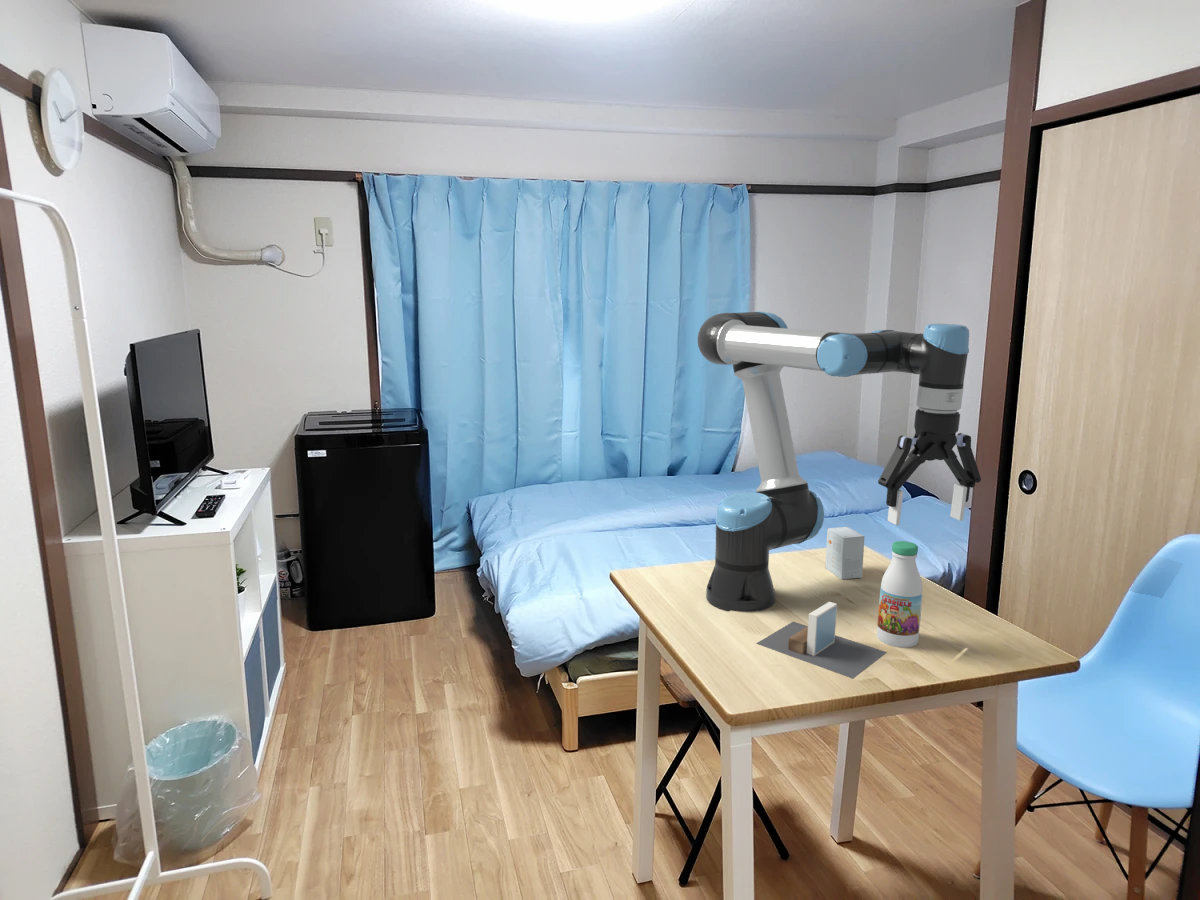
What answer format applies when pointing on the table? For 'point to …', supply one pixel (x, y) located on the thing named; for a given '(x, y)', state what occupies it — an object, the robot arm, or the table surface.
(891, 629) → the milk bottle
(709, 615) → the table surface
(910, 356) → the robot arm
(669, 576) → the table surface
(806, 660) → the mat
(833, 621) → the tile
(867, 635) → the table surface
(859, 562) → the small box
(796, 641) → the block
